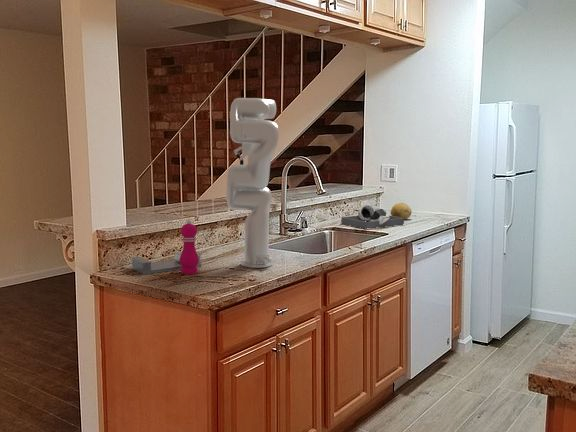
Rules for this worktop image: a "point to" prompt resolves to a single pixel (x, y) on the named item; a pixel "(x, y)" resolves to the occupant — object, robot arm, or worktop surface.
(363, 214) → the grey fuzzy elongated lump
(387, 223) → the bucket tray
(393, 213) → the potato
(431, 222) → the worktop surface
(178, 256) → the jaw
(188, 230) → the pepper mill
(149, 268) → the vise
